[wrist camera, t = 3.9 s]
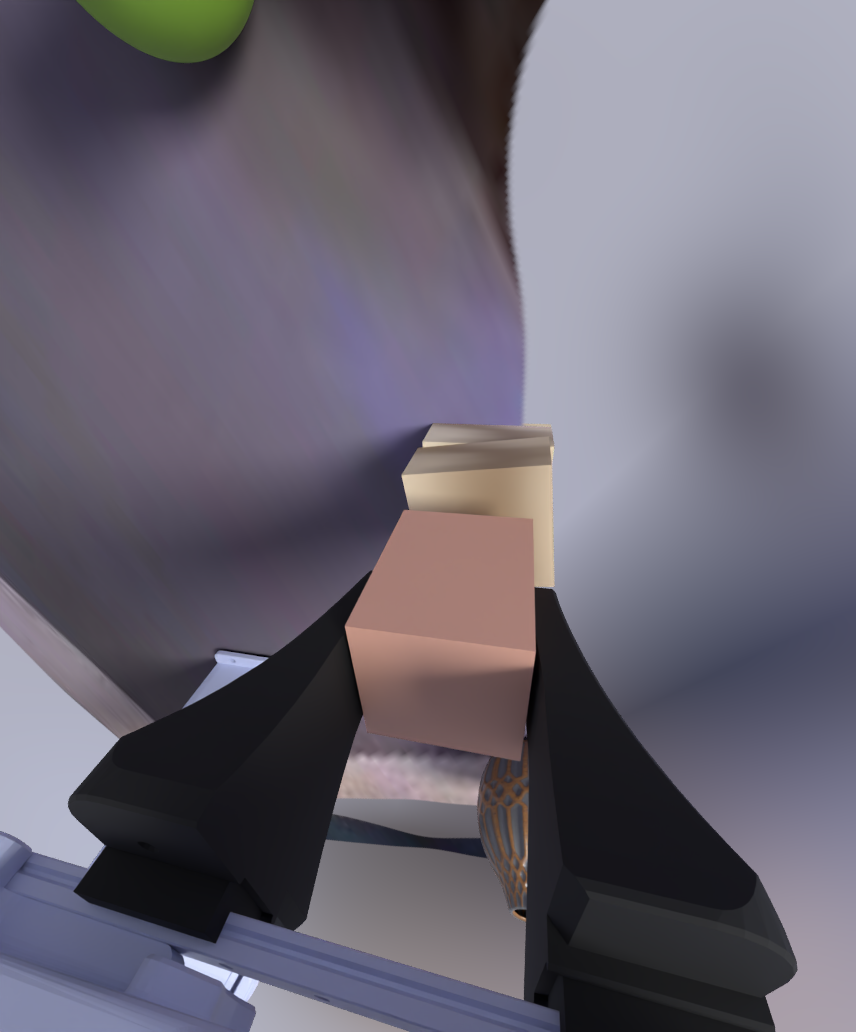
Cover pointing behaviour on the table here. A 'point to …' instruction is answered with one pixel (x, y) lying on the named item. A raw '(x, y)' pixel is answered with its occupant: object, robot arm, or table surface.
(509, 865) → the vase
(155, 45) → the snail figurine
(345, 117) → the table surface
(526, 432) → the tower base
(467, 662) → the block
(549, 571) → the tower top
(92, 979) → the robot arm
